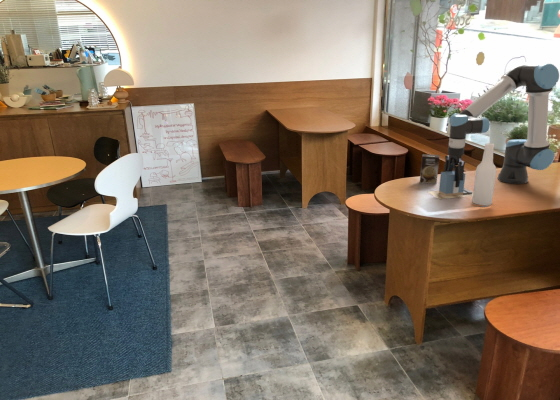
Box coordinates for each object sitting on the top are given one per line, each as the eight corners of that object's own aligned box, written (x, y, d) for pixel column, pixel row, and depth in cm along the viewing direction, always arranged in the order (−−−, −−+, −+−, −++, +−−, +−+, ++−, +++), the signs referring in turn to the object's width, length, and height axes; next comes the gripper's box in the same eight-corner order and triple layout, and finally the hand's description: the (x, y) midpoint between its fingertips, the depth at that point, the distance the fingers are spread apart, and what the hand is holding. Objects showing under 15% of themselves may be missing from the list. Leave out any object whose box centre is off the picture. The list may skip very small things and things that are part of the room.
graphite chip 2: (464, 189, 236) (464, 187, 236) (472, 193, 230) (472, 192, 230) (460, 190, 236) (460, 188, 236) (468, 194, 229) (469, 192, 229)
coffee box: (419, 184, 250) (421, 156, 245) (419, 181, 256) (422, 153, 251) (436, 185, 247) (439, 157, 242) (436, 182, 253) (439, 154, 248)
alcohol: (469, 201, 223) (477, 141, 213) (487, 201, 222) (496, 141, 212) (474, 207, 215) (483, 145, 205) (494, 207, 214) (503, 145, 204)
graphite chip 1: (458, 190, 236) (459, 188, 235) (467, 194, 229) (467, 192, 229) (455, 190, 235) (455, 188, 235) (463, 194, 229) (463, 192, 228)
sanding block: (456, 190, 235) (458, 170, 231) (463, 194, 229) (465, 173, 226) (438, 192, 233) (440, 172, 229) (445, 196, 227) (447, 175, 224)
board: (464, 190, 239) (464, 188, 239) (478, 197, 228) (478, 195, 228) (426, 193, 235) (427, 191, 235) (439, 201, 224) (439, 199, 224)
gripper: (439, 143, 231) (434, 186, 239) (461, 151, 213) (455, 197, 221) (452, 142, 232) (447, 184, 240) (475, 150, 215) (469, 195, 223)
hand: (451, 190), depth 231 cm, fingers closed on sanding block, 6 cm apart
